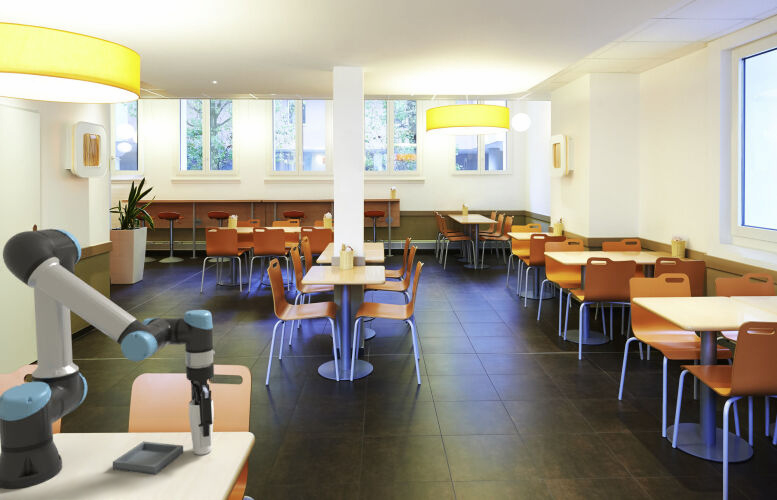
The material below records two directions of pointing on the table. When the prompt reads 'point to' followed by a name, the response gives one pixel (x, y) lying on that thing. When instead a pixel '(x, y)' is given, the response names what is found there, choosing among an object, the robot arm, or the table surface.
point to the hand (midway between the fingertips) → (202, 441)
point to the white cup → (198, 428)
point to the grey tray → (148, 457)
